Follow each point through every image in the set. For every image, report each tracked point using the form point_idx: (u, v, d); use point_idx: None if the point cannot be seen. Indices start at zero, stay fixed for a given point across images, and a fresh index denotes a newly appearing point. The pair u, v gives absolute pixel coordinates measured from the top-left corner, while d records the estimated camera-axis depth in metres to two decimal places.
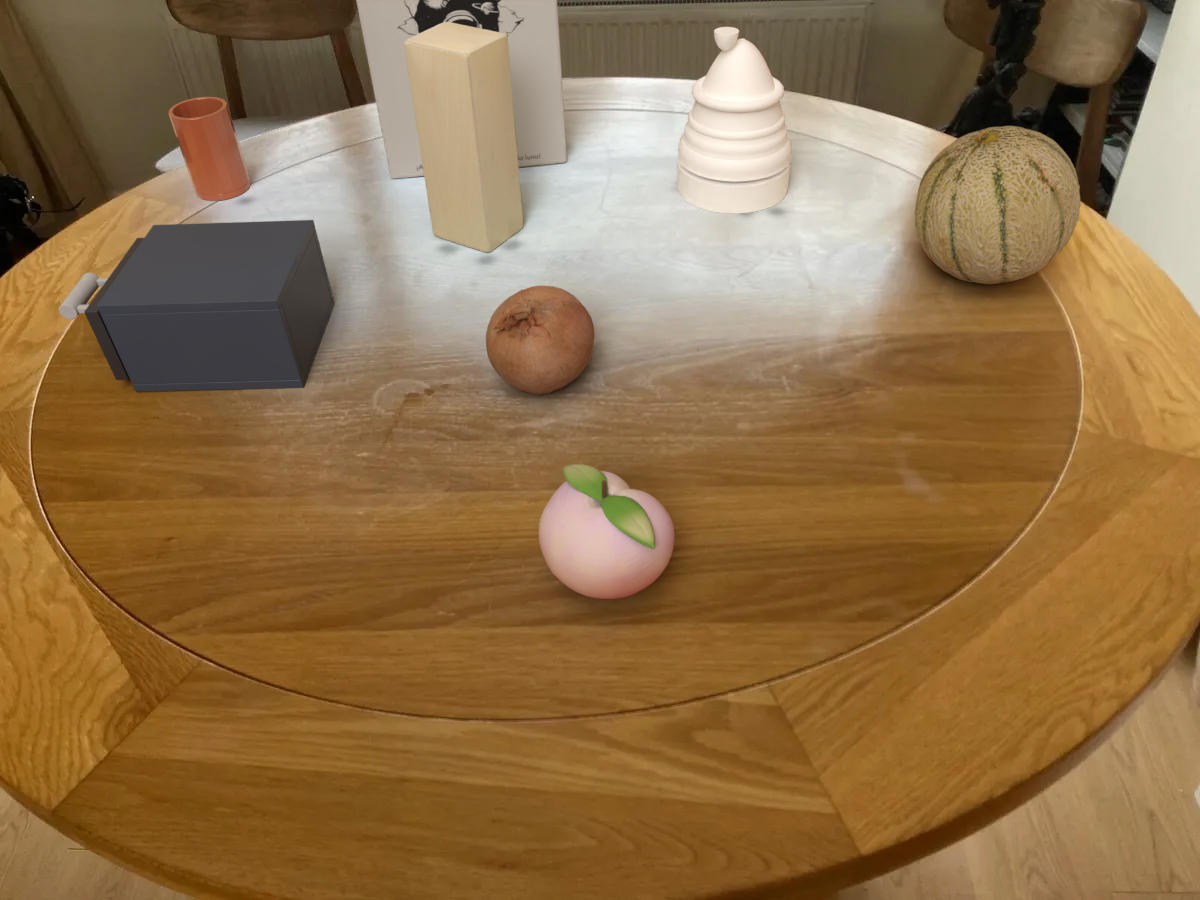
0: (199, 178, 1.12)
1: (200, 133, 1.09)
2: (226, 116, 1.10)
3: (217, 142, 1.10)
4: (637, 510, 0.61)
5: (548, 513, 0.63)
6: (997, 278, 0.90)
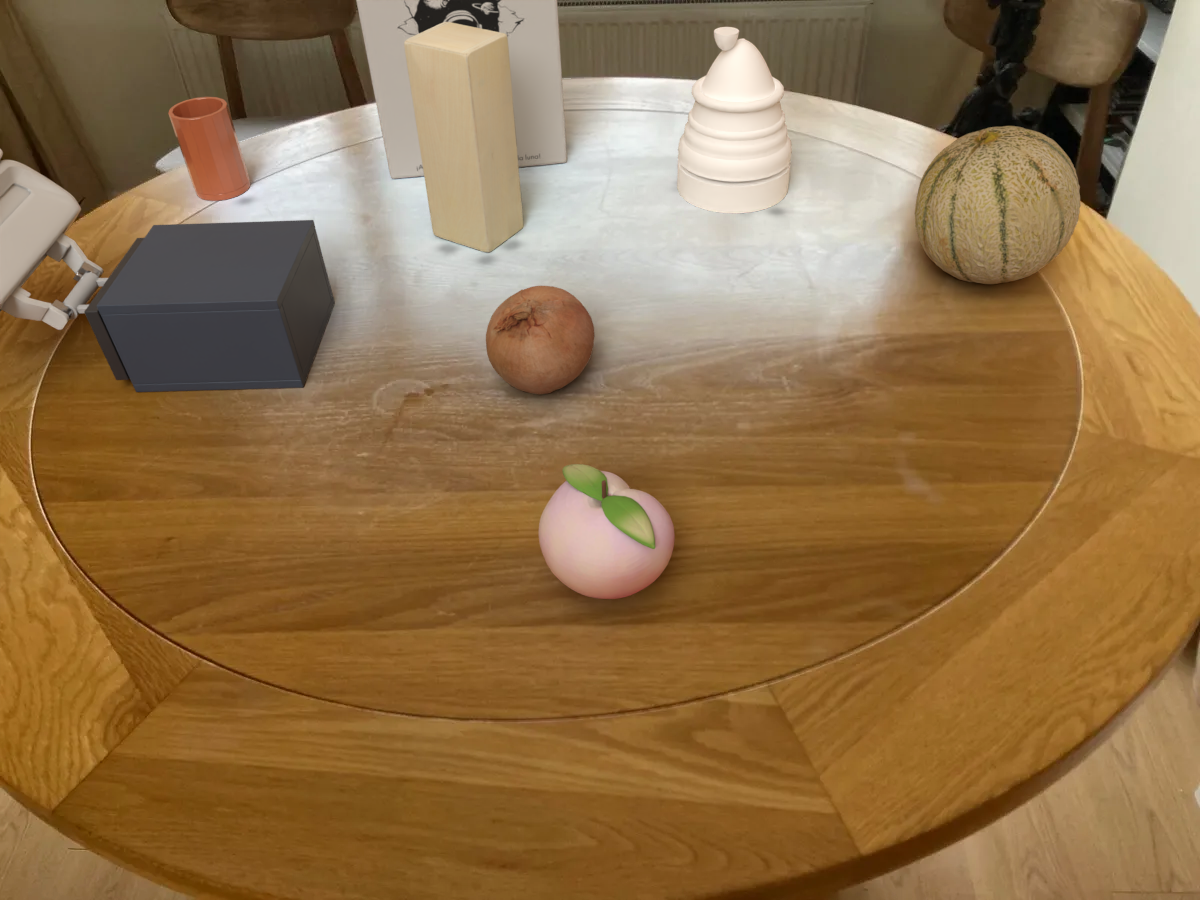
0: (199, 178, 1.12)
1: (200, 133, 1.09)
2: (226, 116, 1.10)
3: (217, 142, 1.10)
4: (637, 510, 0.61)
5: (548, 513, 0.63)
6: (997, 278, 0.90)
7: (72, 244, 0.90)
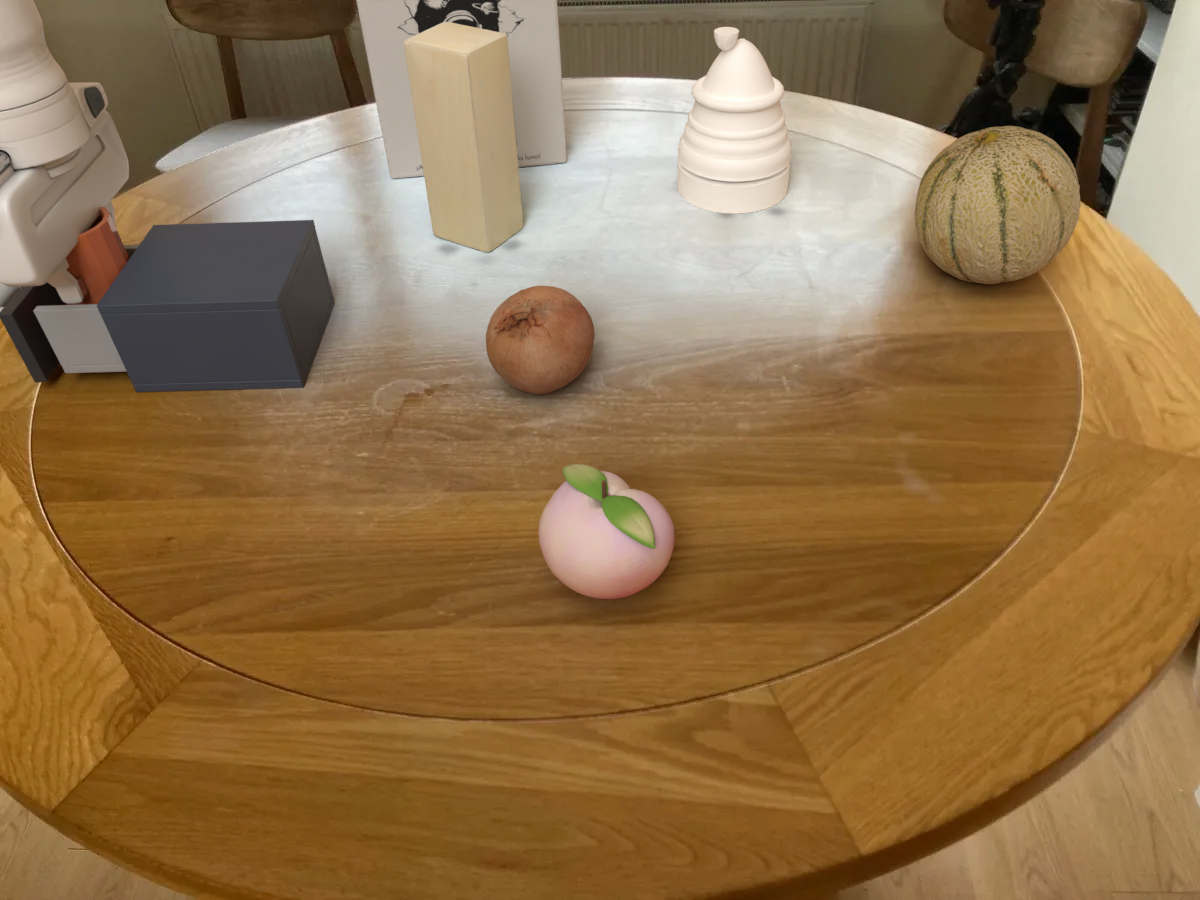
0: None
1: (72, 257, 0.82)
2: (108, 232, 0.83)
3: (97, 267, 0.83)
4: (637, 510, 0.61)
5: (548, 513, 0.63)
6: (997, 278, 0.90)
7: (112, 212, 0.88)
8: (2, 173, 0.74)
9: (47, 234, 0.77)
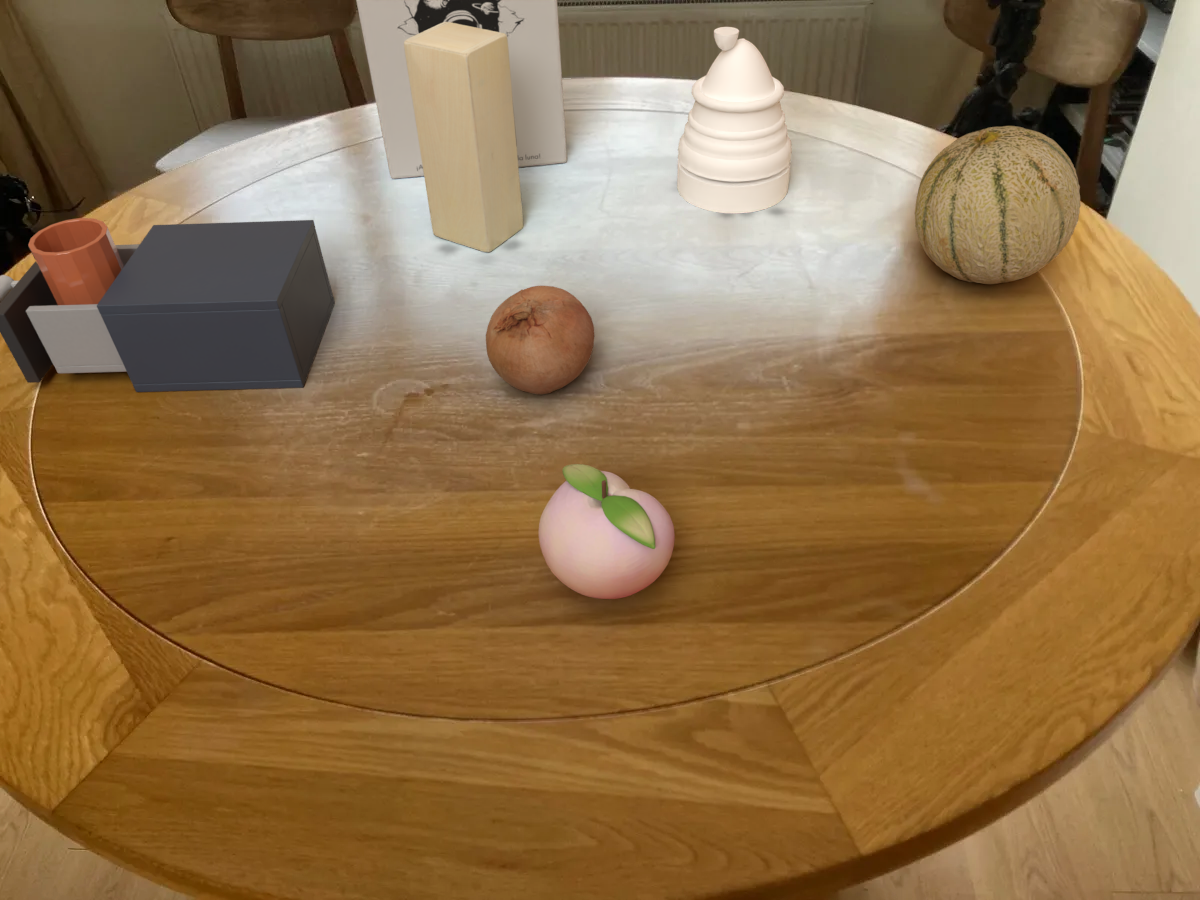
0: None
1: (72, 270, 0.83)
2: (107, 245, 0.84)
3: (96, 279, 0.84)
4: (637, 510, 0.61)
5: (548, 513, 0.63)
6: (997, 278, 0.90)
7: None
8: None
9: None
